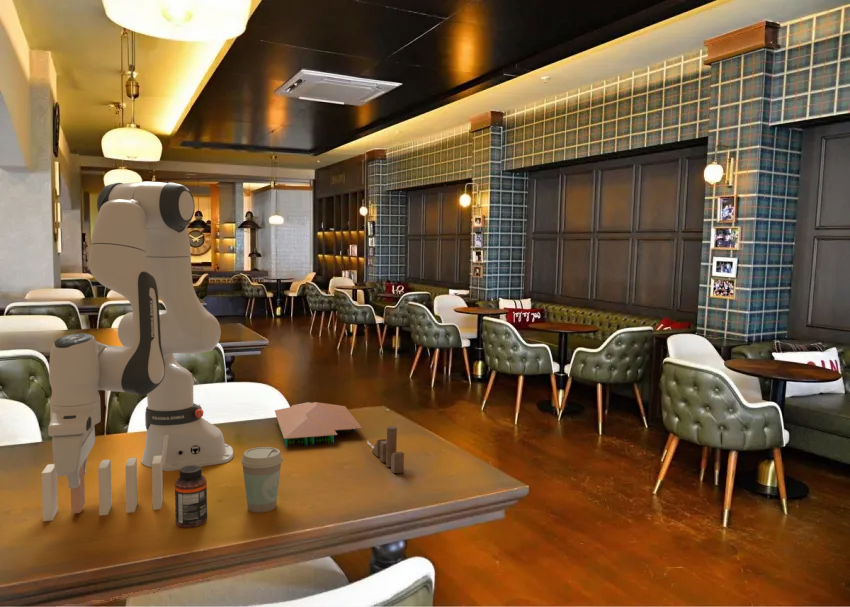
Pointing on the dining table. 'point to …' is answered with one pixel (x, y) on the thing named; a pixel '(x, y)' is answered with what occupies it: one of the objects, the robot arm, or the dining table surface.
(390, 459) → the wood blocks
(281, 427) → the house
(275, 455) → the coffee cup
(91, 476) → the dining table surface
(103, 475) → the domino
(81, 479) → the domino
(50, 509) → the domino end
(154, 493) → the domino
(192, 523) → the supplement bottle
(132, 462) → the domino
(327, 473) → the dining table surface
